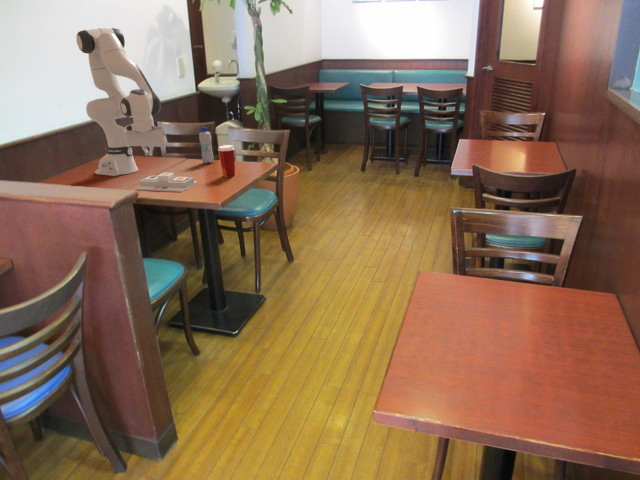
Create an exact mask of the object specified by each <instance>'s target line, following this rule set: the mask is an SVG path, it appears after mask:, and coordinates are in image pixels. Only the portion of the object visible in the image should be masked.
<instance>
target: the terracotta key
mask: <svg viewBox="0 0 640 480" xmlns="http://www.w3.org/2000/svg"><path fill="white" fill-rule="evenodd" d="M176 177H177V178H175V179H173V180H172V181H173V182H185V181H187V180H189V178H190V177H189V176H176Z"/></svg>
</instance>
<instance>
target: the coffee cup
mask: <svg viewBox="0 0 640 480" xmlns="http://www.w3.org/2000/svg"><path fill="white" fill-rule="evenodd" d="M235 149H236V148H234V145H232V144H224V145H220V146H218V149H217V151H218V153H219V160H220V165H221V170H222V171H221V172H222V177H224V178H233V177H235V176H236V164H235V162H236V161H235Z"/></svg>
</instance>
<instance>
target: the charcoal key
mask: <svg viewBox="0 0 640 480" xmlns="http://www.w3.org/2000/svg"><path fill="white" fill-rule="evenodd" d="M144 179H145V181H156V180H158V175H149V176H147V177H145V178H144Z"/></svg>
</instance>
